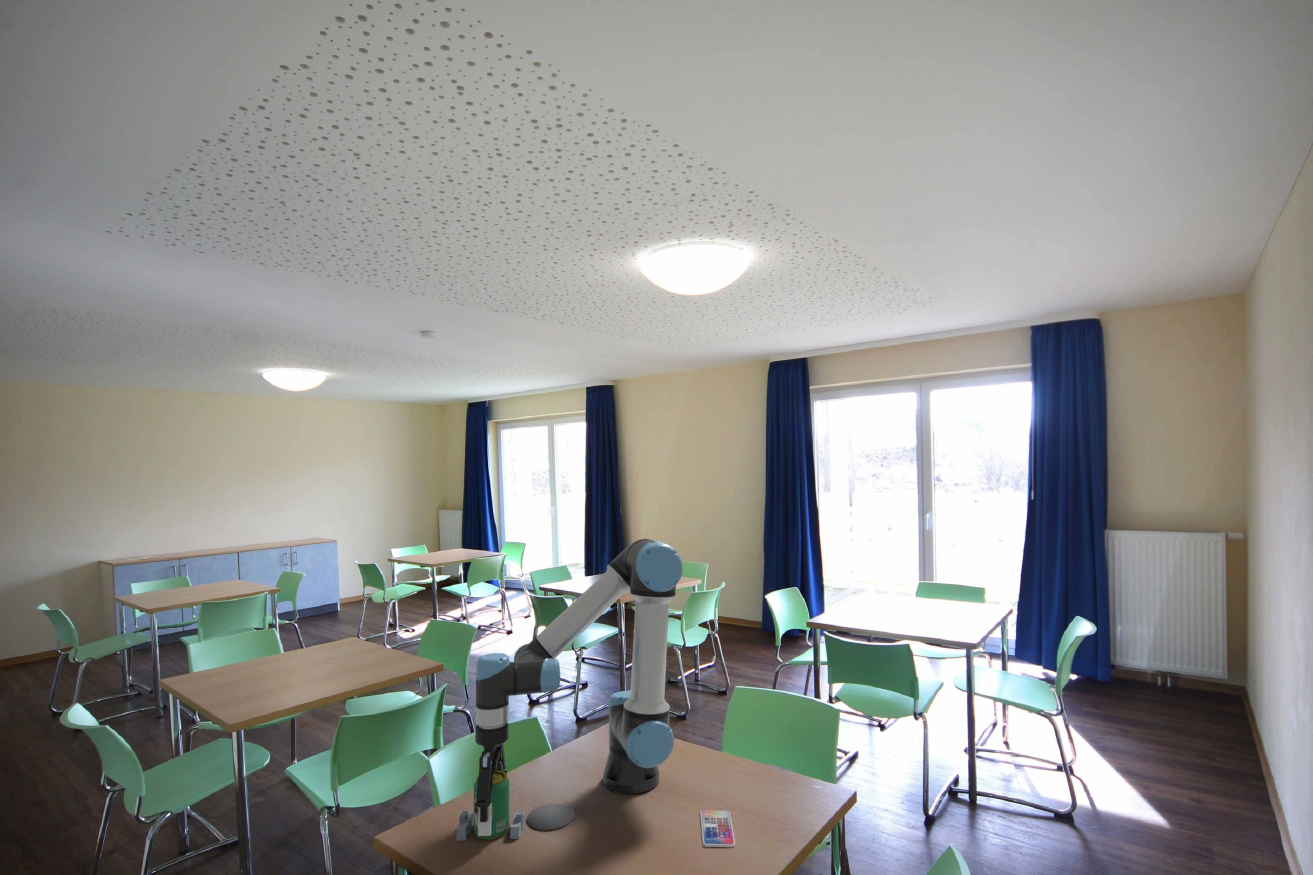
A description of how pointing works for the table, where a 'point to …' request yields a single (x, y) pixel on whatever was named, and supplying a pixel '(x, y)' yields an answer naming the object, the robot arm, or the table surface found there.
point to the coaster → (550, 817)
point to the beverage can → (496, 806)
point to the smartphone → (716, 828)
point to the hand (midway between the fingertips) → (491, 819)
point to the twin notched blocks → (468, 822)
